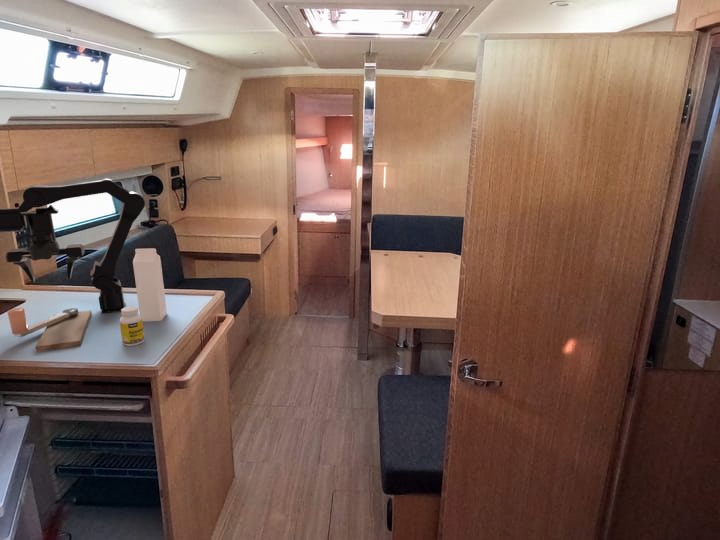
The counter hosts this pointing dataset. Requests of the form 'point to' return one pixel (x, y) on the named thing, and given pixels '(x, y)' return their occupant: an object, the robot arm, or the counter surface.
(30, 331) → the lever
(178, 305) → the counter surface
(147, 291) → the milk
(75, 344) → the light wooden base
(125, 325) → the supplement bottle
